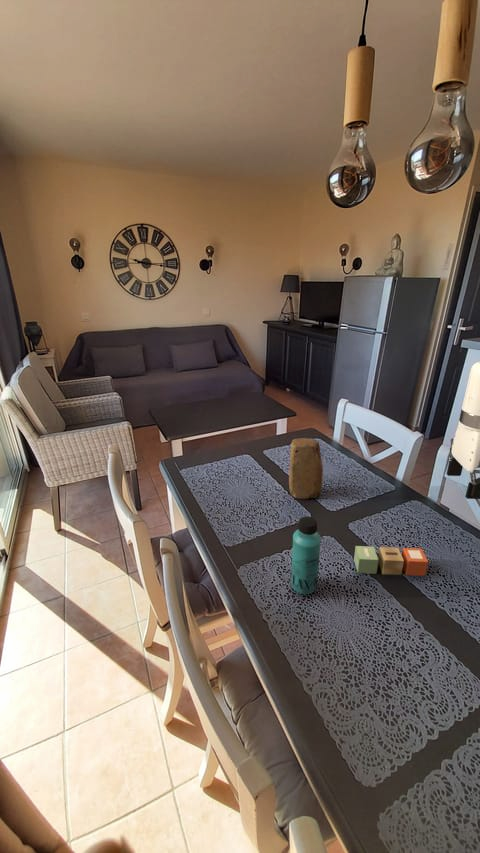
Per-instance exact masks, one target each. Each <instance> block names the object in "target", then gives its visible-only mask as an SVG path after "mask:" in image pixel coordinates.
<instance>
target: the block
mask: <svg viewBox="0 0 480 853" xmlns="http://www.w3.org/2000/svg"><path fill="white" fill-rule="evenodd" d="M289 454H290V455H289V468H288V485H289V486H288V487H289V494H290V495H291V496H292V497H293V498H294V499H297V500H298V499H299V500H308V499H315V498H317V497H319V496H320V495H321V493H322V487H323V477H324V476H323V475H324V465H323V460H322V454H321V446H320V442H319V441H317V440H316V439H314V438H306V437H300V438H294V439H293V440H291V444H290V453H289Z"/></svg>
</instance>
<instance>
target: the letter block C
mask: <svg viewBox="0 0 480 853" xmlns="http://www.w3.org/2000/svg"><path fill="white" fill-rule="evenodd" d="M401 555H402V558H403V560H404V563H403V568H402V570H403V572H404V574H405V576H415V577H426V574H427V570H428V566H429V560H428V558H427V556H426V554H425V552H424V550H423V548H418V547H417V548H416V547H402V549H401Z"/></svg>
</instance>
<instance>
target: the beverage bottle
mask: <svg viewBox="0 0 480 853" xmlns="http://www.w3.org/2000/svg"><path fill="white" fill-rule="evenodd" d="M321 542H322V537H321V535H320V533H319V532H318V522H317V520H316V519H315V518H314V517H312V516H309V515H308V516H302V517H301V518H299V520H298V525H297V529H296V530H295V531H294V532H293V535H292V551H291V554H292V555H291V566H290V576H289V577H290V579H289V580H290V584H291V588H292V589H293V590H294V591H295V592H296V593H298V594H301V595H310V594H312V593H314V592H315V591H316V589H317V588H318V584H319V583H318V580H319V575H320V574H319V568H320V556H321V552H320V551H321Z"/></svg>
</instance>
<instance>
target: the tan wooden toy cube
mask: <svg viewBox="0 0 480 853" xmlns="http://www.w3.org/2000/svg"><path fill="white" fill-rule="evenodd" d="M378 548H379V549H378V555H377V557H378V567H379V569H380V572H381V574H382V575H391V576H393V575H394V576H402V573H403V563H404V560H403V558H402V552H401V551H400V549H399V547H392V546H391V547H390V546H379V547H378Z"/></svg>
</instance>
